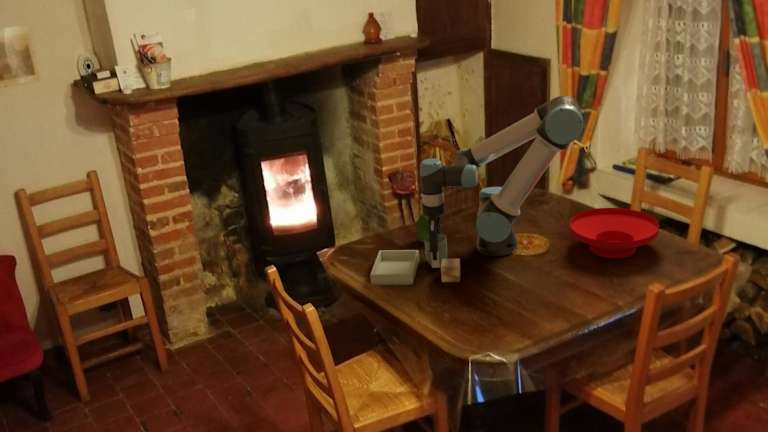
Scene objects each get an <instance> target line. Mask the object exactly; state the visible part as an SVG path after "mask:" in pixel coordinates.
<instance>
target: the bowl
mask: <svg viewBox="0 0 768 432" xmlns="http://www.w3.org/2000/svg"><path fill="white" fill-rule="evenodd" d="M568 230H569V233H570V235H571V236H572V237H573V238H575V239H576V240H578V241H580V242H582V243H584V244H587V245H589V250H590V252H591V253H593V254H594V255H596V256H598V257H602V258H607V259H624V258H628V257H631V256H632V255H634V254H635V253H636V251H637V247H640V246H644V245H648V244H650V243H651V242H653V241H655V240H656V239H657V238H658V236H659V231H660V223H659V222H658V220H657V219H656V218H654V217H653V216H651V215H649V214H647V213H645V212H643V211H640V210H635V209H630V208H624V207H623V208H622V207H600V208H599V207H598V208H592V209H588V210H584V211H581V212H579V213H576V214H575V215H574V216H573V217H571V218H570V220H569V229H568Z"/></svg>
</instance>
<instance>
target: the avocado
mask: <svg viewBox="0 0 768 432" xmlns="http://www.w3.org/2000/svg"><path fill="white" fill-rule="evenodd" d="M428 220H429V217H428V216H425V215H424V214H423V212H422V213H421V214H420V215H419V217H418V220H417V221H416V224H415V228H414V230H415V235H416V238H417V239H418V240H419V242H421V243H424V244H425V237H427V236H428V235H429V228H428V226H429V225H428Z"/></svg>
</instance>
